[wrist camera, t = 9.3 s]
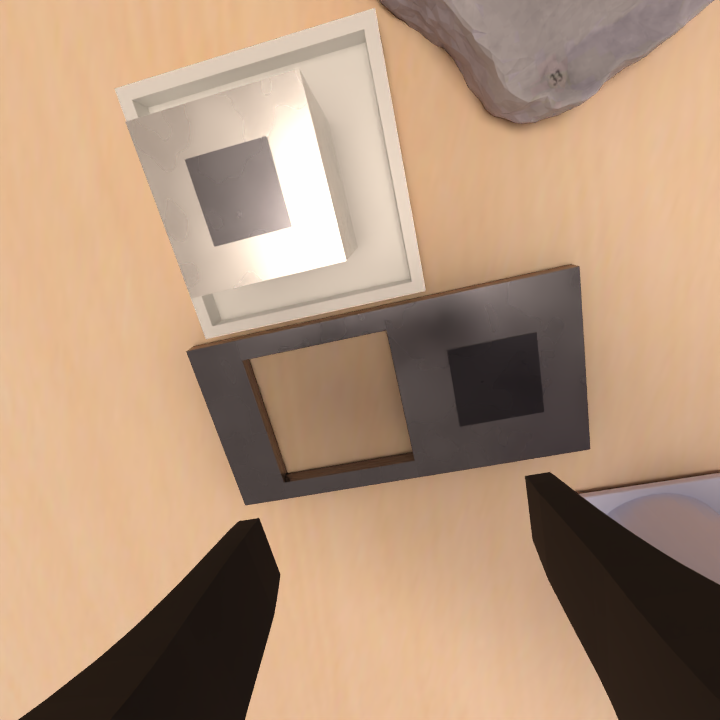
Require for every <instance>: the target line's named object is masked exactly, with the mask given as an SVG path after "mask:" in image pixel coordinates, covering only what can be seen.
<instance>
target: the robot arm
mask: <svg viewBox="0 0 720 720" xmlns="http://www.w3.org/2000/svg"><path fill="white" fill-rule="evenodd" d="M525 480H526V488H527V497H528V505H529V513H530V522H531V530H532V538H533V542H534V544H535V547H536V550H537V552H538V555H539V557H540V560H541V563H542V565H543V568H544V570H545V573H546V575H547V578H548V580H549V582H550V584H551V586H552V588H553V590H554V592H555V594H556V595H557V597H558V599H559V601H560V603H561V605H562V607H563V609H564V611H565V613H566V615H567V617H568V619H569V621H570V622H571V624H572V626H573V628H574V630H575V632H576V634H577V636H578V638H579V640H580V642H581V643H582V645H583V647H584V649H585V651H586V653H587V655H588V657H589V659H590V661H591V663H592V664H593V666H594V668H595V670H596V672H597V674H598V676H599V678H600V680H601V682H602V684H603V686H604V688H605V690H606V692H607V695H608V697H609V699H610V701H611V703H612V705H613V708H614V710H615V712H616V715H617V717H618V719H619V720H720V473H715V474H708V475H702V476H695V477H688V478H682V479H675V480H668V481H662V482H655V483H649V484H642V485H635V486H629V487H622V488H615V489H609V490H602V491H595V492H589V493H582V494H578V493H577V492H575V491H574V490H573V489H571V488H570V487H569V486H568V485H566V484H565V483H564V482H562V481H561V480H560V479H558V478H557V477H556V476H555V475H553V474H552V473H550V472H548V473H541V474H535V475H529V476H525ZM279 581H280V572H279V570H278V567H277V564H276V562H275V559H274V556H273V554H272V551H271V548H270V546H269V543H268V540H267V538H266V535H265V532H264V530H263V527H262V524H261V522H260V519H259V518H257V519H250V520H244V521H239V522H237V523H236V524H235V525H234V526H233V527H232V528H231V529H230V530H229V531H228V532H227V533H226V534H225V535H224V536H223V537H222V539H221V540H220V541H219V542H218V543H217V544H216V545H215V546H214V547H213V548H212V549H211V550H210V551H209V552H208V553H207V555H206V556H205V557H204V558H203V559H202V560H201V561H200V562H199V563H198V564H197V565H196V566H195V567H194V568H193V569H192V570H191V571H190V572H189V574H188V575H187V576H186V577H185V578H184V579H183V580H182V581H181V582H180V583H179V584H178V585H177V586H176V587H175V588H174V589H173V590H172V591H171V592H170V593H169V594H168V595H167V596H166V597H165V598H164V599H163V600H162V601H161V602H160V603H159V604H158V605H157V606H156V607H155V608H154V609H153V610H152V611H151V612H150V613H149V614H148V615H147V616H146V617H145V618H143V619H142V620H141V621H140V622H139V623H138V624H137V625H136V626H135V627H134V628H133V629H132V630H130V631H129V632H128V633H127V634H126V635H125V636H124V637H123V638H121V639H120V640H119V641H118V642H117V643H116V644H115V645H113V646H112V647H111V648H110V649H109V650H108V651H106V652H105V653H104V654H103V655H102V656H101V657H99V658H98V659H97V660H96V661H95V662H93V663H92V664H91V665H90V666H88V667H87V668H86V669H84V670H83V671H82V672H81V673H79V674H78V675H77V676H76V677H74V678H73V679H72V680H70V681H69V682H68V683H67V684H65V685H64V686H63V687H61V688H60V689H59V690H58V691H56V692H55V693H54V694H53V695H51V696H50V697H49V698H47V699H46V700H45V701H43V702H42V703H41V704H39V705H38V706H37V707H35V708H34V709H32V710H31V711H30V712H28V713H27V714H26V715H24V716H23V717H21V718H20V719H19V720H245V717H246V713H247V710H248V706H249V702H250V699H251V695H252V692H253V688H254V685H255V681H256V678H257V674H258V671H259V667H260V664H261V660H262V657H263V653H264V650H265V646H266V643H267V639H268V635H269V632H270V628H271V625H272V621H273V617H274V613H275V607H276V601H277V595H278V588H279Z"/></svg>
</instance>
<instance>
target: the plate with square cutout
mask: <svg viewBox="0 0 720 720" xmlns="http://www.w3.org/2000/svg"><path fill="white" fill-rule="evenodd" d="M385 330H387V335H388V340H389V344H390V349H391V353H392V358H393V363H394V367H395V372H396V376H397V381H398V386H399V390H400V395H401V400H402V404H403V409H404V413H405V418H406V423H407V427H408V432H409V436H410V441H411V446H412V450H413V452H412V453H406V454H401V455H395V456H389V457H383V458H377V459H371V460H365V461H360V462H354V463H348V464H342V465H336V466H330V467H324V468H319V469H313V470H307V471H301V472H295V473H289V474H287V472H286V469H285V466H284V463H283V460H282V457H281V454H280V451H279V448H278V445H277V442H276V439H275V436H274V433H273V430H272V427H271V424H270V421H269V418H268V415H267V412H266V409H265V406H264V403H263V400H262V397H261V394H260V391H259V388H258V385H257V382H256V379H255V376H254V373H253V370H252V367H251V364H250V361H249V359H252V358H257V357H261V356H266V355H271V354H276V353H280V352H285V351H290V350H295V349H299V348H304V347H309V346H314V345H319V344H323V343H328V342H333V341H338V340H342V339H347V338H352V337H357V336H361V335H366V334H371V333H376V332H380V331H385ZM186 352H187V355H188V357H189V360H190V362H191V365H192V368H193V370H194V373H195V375H196V378H197V381H198V383H199V386H200V388H201V391H202V394H203V396H204V399H205V401H206V404H207V407H208V409H209V412H210V414H211V417H212V420H213V422H214V425H215V427H216V430H217V433H218V435H219V438H220V440H221V443H222V446H223V448H224V451H225V454H226V456H227V459H228V461H229V464H230V467H231V469H232V472H233V474H234V477H235V480H236V482H237V485H238V487H239V490H240V493H241V495H242V498H243V500H244V503H245V505H251V504H257V503H263V502H269V501H276V500H282V499H288V498H294V497H300V496H306V495H312V494H319V493H325V492H331V491H337V490H343V489H349V488H355V487H362V486H368V485H374V484H380V483H386V482H392V481H398V480H405V479H411V478H417V477H423V476H429V475H435V474H441V473H448V472H454V471H460V470H466V469H472V468H478V467H484V466H491V465H497V464H503V463H509V462H515V461H521V460H527V459H534V458H540V457H546V456H552V455H558V454H564V453H570V452H577V451H583V450H589V449H590V436H589V419H588V402H587V386H586V369H585V352H584V335H583V318H582V301H581V284H580V267H579V266H576V265H572V264H570V265H566V266H561V267H556V268H552V269H547V270H543V271H538V272H534V273H529V274H524V275H520V276H515V277H511V278H506V279H501V280H497V281H492V282H488V283H483V284H478V285H474V286H469V287H465V288H460V289H455V290H451V291H446V292H442V293H437V294H432V295H428V296H423V297H419V298H414V299H409V300H405V301H400V302H396V303H391V304H386V305H382V306H377V307H373V308H368V309H364V310H359V311H354V312H350V313H345V314H341V315H336V316H331V317H327V318H322V319H318V320H313V321H308V322H304V323H299V324H295V325H290V326H285V327H281V328H276V329H272V330H267V331H262V332H258V333H253V334H249V335H244V336H239V337H235V338H230V339H226V340H221V341H216V342H212V343H207V344H203V345H198V346H194V347H192V348H191V349H189V350H188V351H186Z"/></svg>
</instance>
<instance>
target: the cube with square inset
mask: <svg viewBox="0 0 720 720" xmlns="http://www.w3.org/2000/svg"><path fill="white" fill-rule="evenodd" d="M126 124H127V127H128V130H129V133H130V135H131V138H132V141H133V143H134V146H135V149H136V151H137V154H138V157H139V159H140V162H141V165H142V167H143V170H144V173H145V176H146V178H147V181H148V184H149V186H150V189H151V192H152V194H153V197H154V200H155V202H156V205H157V208H158V210H159V213H160V216H161V219H162V221H163V224H164V227H165V229H166V232H167V235H168V237H169V240H170V243H171V245H172V248H173V251H174V253H175V256H176V259H177V262H178V264H179V267H180V270H181V272H182V275H183V278H184V280H185V283H186V286H187V288H188V291H189V294H190V296H191V298H195V297H199V296H204V295H208V294H212V293H216V292H220V291H224V290H228V289H232V288H237V287H241V286H245V285H249V284H253V283H257V282H261V281H265V280H270V279H274V278H278V277H282V276H286V275H290V274H294V273H298V272H303V271H307V270H311V269H315V268H319V267H323V266H327V265H331V264H336V263H340V262H344V261H347V259H348V258H349V257H350V256H351V255H352V254H353V253H354V252H355V250H356V249H357V248H358V247H357V242H356V238H355V234H354V229H353V225H352V221H351V217H350V212H349V208H348V204H347V199H346V195H345V191H344V186H343V182H342V178H341V174H340V169H339V165H338V161H337V156H336V152H335V148H334V144H333V139H332V135H331V131H330V126H329V122H328V120H327V118H326V116H325V114H324V113H323V111H322V109H321V107H320V105H319V104H318V102H317V100H316V98H315V96H314V94H313V93H312V91H311V89H310V87H309V85H308V83H307V82H306V80H305V78H304V76H303V74H302V73H301V71H300V69H299V68H298V69H295V70H292V71H288V72H285V73H282V74H279V75H275V76H272V77H269V78H266V79H262V80H259V81H256V82H253V83H249V84H246V85H243V86H240V87H236V88H233V89H230V90H227V91H223V92H220V93H217V94H214V95H210V96H207V97H204V98H201V99H198V100H194V101H191V102H188V103H185V104H181V105H178V106H175V107H172V108H168V109H165V110H162V111H159V112H155V113H152V114H149V115H146V116H142V117H139V118H136V119H133V120H129V121H126Z"/></svg>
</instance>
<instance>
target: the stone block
mask: <svg viewBox="0 0 720 720" xmlns="http://www.w3.org/2000/svg"><path fill="white" fill-rule="evenodd" d="M712 1H714V0H380V2H381V3H382V4H383V5H384V6H385V7H387V8H388V9H389V10H390V11H391V12H392V13H393V14H394V15H395V16H397V17H398V18H400V19H402V20H403V21H405V22H406V23H407V24H408V26H409V27H411V28H413V29H415V30H417V31H418V32H420V33H421V34H422V35H423V36H424V37H425V38H426V39H428V40H429V41H431V42H432V43H433V44H435V45H437V46H440V47H443V48H444V49H445V50H446V51H447V52H448V53H449V55H450V56H451V57H453V59H454V60H455V62H456V64H457V66H458V68H459V70H460V71H461V73H462V74H463V77H464V79H465V81H466V84H467V86H468V87H469V88H470V90H471V91H472V92H473V93H474V94H475V95H476V96H477V97H478V98H479V100H480V101H481V102H482V104H483V105H484V107H485V109H486V110H487V111H488V112H489V113H490V114H492V115H494V116H497V117H501V118H504V119H507V120H510V121H512V122H514V123H521V124H522V123H535V122H537V121H539V120H542V119H545V118H549V117H553V116H557V115H559V114H561V113H563V112H565V111H567V110H570V109H572V108H574V107H576V106H579V105H581V104H582V103H584V102H585V101H586V100H588V99H589V98H590V97H592V96H593V95H594V94H596V93H597V92H598V90H599V89H600V88H601V86H602V85H603V84H604V82H606V81H607V80H609V79H610V78H611V77H613V76H614V75H616V74H617V73H618V72H620V71H621V70H623V69H624V68H625V67H627V66H629V65H631V64H633V63H635V62H637V61H639V60H640V59H642V58H644V57H645V56H647V55H648V54H649V53H650V52H651V51H652V50H654V49H655V48H656V47H657V46H659V45H660V44H661V43H663V42H664V41H665V40H667V39H668V38H670V37H671V36H673V35H674V34H675V33H677V32H678V31H679V30H680V29H681V28H683V27H684V26H685V25H686V23H687V22H688V21H690V20H691V19H692V18H694V17H695V16H696V15H698V14H699V13H700V12H701V11H702V10H703V9H704V8H706V7H707V6H708V5H709V4H710V3H711V2H712Z"/></svg>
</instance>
